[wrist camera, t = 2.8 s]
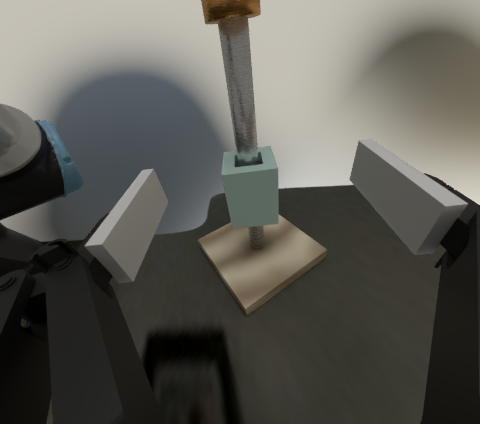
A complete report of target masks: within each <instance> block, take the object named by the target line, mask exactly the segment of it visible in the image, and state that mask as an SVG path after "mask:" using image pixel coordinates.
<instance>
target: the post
mask: <svg viewBox="0 0 480 424" xmlns="http://www.w3.org/2000/svg"><path fill="white" fill-rule="evenodd" d="M201 2H202V7H203V13H204V18H205V23H206V24H218V27H219V34H220V41H221V47H222V54H223V61H224V68H225V74H226V82H227V89H228V96H229V102H230V110H231V116H232V123H233V130H234V137H235V144H236V151H237V158H238V165H239V167H243V166H251V165H259V160H258V147H257V133H256V120H255V107H254V95H253V94H254V93H253V81H252V67H251V53H250V42H249V41H250V40H249V27H248V18H251V17H255V16H258V15H260V0H201ZM248 234H249V241H250V247H251V248H252V249H254V250H261V249H263V248H264V246H265V240H264V226H254V227H248Z"/></svg>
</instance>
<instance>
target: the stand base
mask: <svg viewBox="0 0 480 424" xmlns="http://www.w3.org/2000/svg"><path fill="white" fill-rule="evenodd" d="M264 240H265V246H264V248H263V249H261V250H254V249H252V248H251V247H250V241H249V234H248V227H245V228H235V229H233V228H232V223H229V224H227V225H225V226H223V227H221V228H219V229H217V230H216V231H214V232H212V233H210V234H208V235H206V236H204V237H202V238H200V239H199V240H198V242H199V244H200V247H201V249H202V250H203V252H204V253H205V255H206V256H207V258H208V259H209V260H210V262H211V263H212V265H213V266H214V268H215V269H216V271H217V272H218V274H219V275H220V277H221V278H222V280H223V281H224V283H225V284H226V286H227V287H228V289H229V290H230V292H231V293H232V295H233V296H234V298H235V299H236V301H237V302H238V303H239V305H240V306H241V308H242V309H243V311H244V312H245V314H246V315H247V316H248V315H249V314H250V313H252V312H253V311H255V310H256V309H257V308H259V307H260V306H261V305H263V304H264V303H265V302H267V301H268V300H269V299H271V298H272V297H273V296H275V295H276V294H277V293H279V292H280V291H281V290H283V289H284V288H285V287H287V286H288V285H289V284H291V283H292V282H294V281H295V280H296V279H298V278H299V277H300V276H302V275H303V274H304V273H306V272H307V271H308V270H310V269H311V268H312V267H314V266H315V265H316V264H318V263H319V262H320V261H322V260H323V259H324V258H325V257H326V252H327V249H325V248H324V247H323V246H321V245H320V244H318V243H317V242H316V241H314V240H313V239H312V238H310V237H309V236H308V235H306V234H305V233H303V232H302V231H301V230H299V229H298V228H297V227H295V226H294V225H292V224H291V223H290V222H288V221H287V220H286V219H284V218H283V217H282V216H280V215H279V224H274V225H264Z"/></svg>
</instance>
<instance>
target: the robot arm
mask: <svg viewBox="0 0 480 424" xmlns="http://www.w3.org/2000/svg"><path fill="white" fill-rule="evenodd" d="M350 181H351V182H352V183H353V184H354V185H355V186H356V188H357V189H358V190H359V191H360V192H361V193H362V195H363V196H364V197H365V198H366V199H367V200H368V202H369V203H370V204H371V205H372V206H373V207H374V208H375V210H376V211H377V212H378V213H379V214H380V215H381V217H382V218H383V219H384V220H385V221H386V222H387V224H388V225H389V226H390V227H391V228H392V229H393V230H394V232H395V233H396V234H397V235H398V236H399V237H400V239H401V240H402V241H403V242H404V243H405V244H406V246H407V247H408V248H409V249H410V250H411V251H412V253H413V254H414V255H422V254H433V253H434V252H435V250H436V249H437V247H438V246H439V245H440V244H441V245H442V246H443V247H444V248H445V249H446V252H445V253H444V254H443V256H442V257H441V258H440V260H439V261H438V262H437V263H436V265H435V268H438V267H439V266H440V265H441V273H440V281H439V289H438V297H437V305H436V313H435V321H434V329H433V337H432V345H431V353H430V361H429V369H428V377H427V385H426V393H425V401H424V409H423V416H422V420H421V423H420V424H480V205H478V204H477V203H475V202H474V201H472V200H471V199H469V198H467V197H466V196H464V195H463V194H461V193H460V192H458V191H457V190H454V188H452V187H451V186H449V185H446V183H444V182H443V181H441V180H439V179H438V178H436V177H433V176H431V175H428V174H425V173H421V172H420V171H419V170H417V169H416V168H414V167H413V166H411V165H410V164H408V163H407V162H405V161H404V160H402V159H401V158H399V157H398V156H396V155H395V154H393V153H392V152H390V151H389V150H387V149H386V148H384V147H383V146H381V145H380V144H379V143H377V142H375V141H374V140H372V139H368V140H360V141H359V142H358V146H357V150H356V155H355V159H354V163H353V168H352V172H351V176H350ZM82 186H83V178H82V176H81V174H80V172H79V171H78V169H77V167H76V165H75V164H74V162H73V160H72V158H71V156H70V155H69V153H68V151H67V149H66V147H65V145H64V144H63V142H62V140H61V138H60V137H59V135H58V133H57V132H56V130H55V128H54V126H53V125H52V124H51V123H50V122H49V121H40V120H37V121H33V120H32V119H31V118H30V117H29V116H28V115H27V114H25V113H24V112H22V111H20V110H18V109H16V108H13V107H11V106H7V105H3V104H0V220H2V219H5V218H7V217H9V216H12V215H15V214H17V213H20V212H23V211H25V210H28V209H31V208H33V207H36V206H38V205H41V204H44V203H47V202H49V201H52V200H55V199H57V198H60V197H65V196H67V194H69V193H71V192H74V191H76V190H78V189H80V188H81V187H82ZM167 204H168V200H167V198H166V196H165V194H164V191H163V189H162V187H161V185H160V182H159V180H158V178H157V176H156V173H155V171H154V169H148V170H142V172H141V173H140V174H139V175H138V177H137V178H136V179H135V181H134V182H133V183H132V185H131V186H130V187H129V188H128V190H127V191H126V192H125V194H124V195H123V196H122V198H121V199H120V200H119V202H118V203H117V204H116V205H115V207H114V208H113V209H112V211H111V212H110V213H108V214H107V215H105V216H104V217H103V218H101V219H100V220H99V222H98V223H97V224H96V226H95V227H94V228H93V229H92V231H91V233H89V234H88V236H87V237H86V238H85V239H84V241H83V242H82V243H81V244H80V246H79V247H78V248H77V250H76V249H75V248H74V247H73V246H72V245H71V244H70V243H69V242H68V241H67V240H66V239H57V240H53V241H51V242H48V243H47V244H45V245H44V244H42V243H41V242H40V241H38V240H35V239H33V238H30V237H28V236H26V235H23V234H21V233H18V232H16V231H13V230H11V229H8V228H6V227H5V226H4V225H2V224H1V223H0V424H46V421H47V416H48V410H49V405H50V400H51V394H52V410H53V424H165V422H164V419H163V417H162V414H161V411H160V409H159V406H158V404H157V401H156V399H155V396H154V393H153V391H152V388H151V386H150V383H149V380H148V378H147V375H146V373H145V370H144V368H143V365H142V362H141V360H140V357H139V355H138V352H137V350H136V347H135V344H134V342H133V339H132V337H131V334H130V332H129V329H128V326H127V324H126V321H125V319H124V316H123V313H122V311H121V308H120V306H119V303H118V301H117V298H116V295H115V293H114V290H113V288H112V286H111V285H110V284H109V281H110V280H111V278H112V277H113V278H114V279H115V280H116V281H117V282H118V283H126V282H134V279H135V277H136V275H137V272H138V270H139V268H140V266H141V263H142V261H143V259H144V257H145V254H146V252H147V250H148V247H149V245H150V243H151V241H152V238H153V236H154V234H155V231H156V229H157V227H158V225H159V222H160V220H161V217H162V215H163V213H164V211H165V209H166V206H167ZM21 318H22V319H24V320H26V321H27V322H26V325H25V327H21Z"/></svg>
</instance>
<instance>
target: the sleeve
mask: <svg viewBox="0 0 480 424" xmlns="http://www.w3.org/2000/svg"><path fill="white" fill-rule="evenodd" d="M258 160H259V165H251V166H243V167H239V165H238V158H237V151H229V152H224V156H223V165H222V174H221V176H222V180H223V185H224V190H225V195H226V199H227V204H228V209H229V214H230V218H231V223H232V228H233V229H235V228H245V227H254V226H264V225H274V224H279V214H278V167H277V164H276V161H275V158H274V155H273V152H272V149H271V146H267V147H260V148H258Z"/></svg>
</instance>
